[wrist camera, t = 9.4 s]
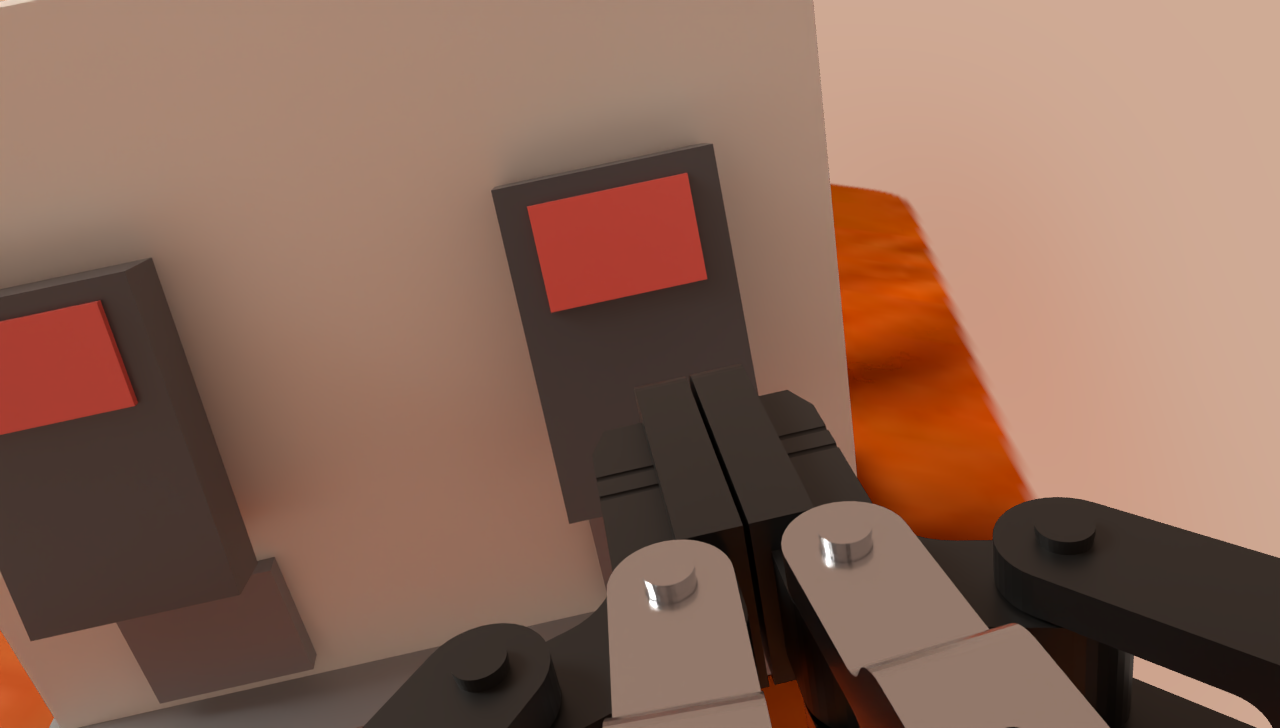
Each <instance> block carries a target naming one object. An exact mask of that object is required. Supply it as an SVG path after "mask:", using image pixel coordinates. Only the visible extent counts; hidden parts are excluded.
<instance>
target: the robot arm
mask: <svg viewBox="0 0 1280 728" xmlns="http://www.w3.org/2000/svg"><path fill="white" fill-rule="evenodd" d="M689 384H690V386H689ZM689 384H688V381H687V379H686V377H685V376H684V377H680V378H675V379H671V380H666V381H662V382H657V383H653V384H648V385H644V386H639V387H635V388H634V393H635V398H636V403H637V408H638V413H639V418H640V423H638V424H634V425H629V426H625V427H620V428H616V429H611V430H607V431H604V432H603V434H602V436H601V438H600V440H599V442H598V444H597V446H596V448H595V450H594V452H593V454H592V457H593V463H594V469H595V474H596V480H597V486H598V492H599V497H600V503H601V509H602V515H603V520H604V526H605V532H606V538H607V543H608V549H609V555H610V561H611V566H612V574H611V576H610V578H609V581H608V584H607V597H606V598H605V600H604V602H603V603H602V604H601V605H600V607H599V608H598V609H597V610H596V611H595V612H594V613H593V614H592V615H591V616H590V617H588V618H587V619H586V620H584V621H583V622H582V623H580V624H579V625H577V626H575V627H574V628H572V629H570V630H568V631H566V632H564V633H562V634H560V635H558V636H556V637H554V638H552V639H550V640H548V641H546V642H545V640H544V639H543V638H542V637H541V636H540V634H538V633H537V632H535V631H534V630H532V629H530V628H528V627H525V626H522V625H518V624H511V623H497V624H489V625H484V626H479V627H476V628H473V629H470V630H468V631H465V632H463V633H461V634H459V635H457V636H455V637H453V638H452V639H450V640H448V641H447V642H446V643H444V644H443V645H441V646H440V647H439V648H438V649H437V650H436V651H435V652H433V653H432V654H431V655H430V656H429V658H428V659H427V660H426V661H425V662H424V663H423V664H422V665H421V666H420V667H419V668H418V669H417V670H416V671H415V672H414V673H413V674H412V676H411V677H410V678H409V679H408V680H407V681H406V682H405V683H404V684H403V685H402V686H401V687H400V688H399V689H398V690H397V691H396V693H395V694H394V695H393V696H392V697H391V698H390V699H389V700H388V701H387V702H386V703H385V704H384V705H383V706H382V707H381V708H380V709H379V711H378V712H377V713H376V714H375V715H374V716H373V717H372V718H371V719H370V720H369V721H368V722H367V723H366V724H365V725H364V726H363V727H362V728H772V726H771V722H770V717H769V713H768V709H767V704H766V700H765V696H764V693H763V691H761V688H765V687H769V681H768V675H767V669H766V663H765V658H766V661H767V664H768V667H769V669H770V672H771V675H772V678H773V681H774V684H775V685H776V684H780V683H784V682H789V681H793V680H797V683H798V685H799V688H800V691H801V693H802V696H803V699H804V706H805V713H806V720H807V726H808V728H1256V727H1253V726H1251V725H1249V724H1246V723H1244V722H1241V721H1238V720H1236V719H1234V718H1231V717H1229V716H1226V715H1224V714H1221V713H1219V712H1216V711H1214V710H1211V709H1209V708H1207V707H1204V706H1202V705H1199V704H1196V703H1194V702H1192V701H1189V700H1187V699H1184V698H1182V697H1179V696H1177V695H1174V694H1172V693H1170V692H1167V691H1164V690H1162V689H1160V688H1157V687H1155V686H1152V685H1150V684H1147V683H1145V682H1142V681H1140V680H1137V679H1135V678H1132V677H1133V659H1134V656H1137V657H1140V658H1142V659H1144V660H1147V661H1150V662H1152V663H1155V664H1157V665H1160V666H1162V667H1165V668H1168V669H1170V670H1173V671H1175V672H1178V673H1180V674H1183V675H1186V676H1188V677H1191V678H1193V679H1196V680H1198V681H1201V682H1203V683H1206V684H1208V685H1211V686H1214V687H1216V688H1219V689H1222V690H1224V691H1226V692H1229V693H1232V694H1234V695H1236V696H1239V697H1241V698H1243V699H1244V700H1246V701H1248V702H1249V703H1251V704H1252V705H1253V706H1255V707H1256V708H1257V709H1258V710H1259V711H1260V712H1262V713H1263V715H1264V716H1265V717H1266V718H1267V719H1268V721H1269V722H1270V724H1271V725H1272V727H1273V728H1280V558H1277V557H1274V556H1271V555H1267V554H1264V553H1260V552H1257V551H1254V550H1251V549H1247V548H1244V547H1241V546H1237V545H1234V544H1230V543H1227V542H1224V541H1220V540H1217V539H1213V538H1211V537H1207V536H1204V535H1200V534H1197V533H1194V532H1191V531H1187V530H1184V529H1180V528H1177V527H1174V526H1171V525H1167V524H1164V523H1161V522H1157V521H1154V520H1151V519H1147V518H1144V517H1140V516H1137V515H1134V514H1130V513H1127V512H1123V511H1120V510H1117V509H1114V508H1110V507H1107V506H1104V505H1100V504H1097V503H1093V502H1089V501H1085V500H1081V499H1074V498H1062V497H1053V498H1042V499H1035V500H1031V501H1027V502H1024V503H1021V504H1019V505H1016V506H1014V507H1013V508H1011V509H1009V510H1008V511H1006V512H1005V513H1004V514H1003V515H1002V516H1001V517H1000V518H999V519H998V521H997V522H996V524H995V527H994V529H993V540H970V541H950V540H936V539H928V538H924V537H920V536H916V535H915V534H914V533H913V531H912V530H911V529H910V527H909V526H908V525H907V524H906V522H905V521H904V520H903V519H902V518H901V517H900V516H898V515H897V514H895V513H894V512H893V511H891V510H889V509H886V508H884V507H881V506H878V505H876V504H873V503H872V502H871V500H870V498H869V497H868V495H867V493H866V492H865V490H864V488H863V487H862V485H861V483H860V482H859V480H858V478H857V477H856V475H855V473H854V472H853V470H852V468H851V467H850V465H849V463H848V462H847V460H846V458H845V457H844V455H843V453H842V452H841V450H840V448H839V447H837V445H836V442H835V440H834V438H833V437H832V435H831V433H830V432H829V430H827V429H826V425H825V423H824V422H823V420H822V418H821V417H820V415H819V413H818V412H817V410H816V408H815V407H814V405H813V404H811V403H810V402H808V401H806V400H804V399H803V398H801V397H799V396H797V395H796V394H794V393H792V392H790V391H789V390H783V391H779V392H775V393H770V394H766V395H761V396H758V395H757V393H756V391H755V389H754V387H753V385H752V383H751V381H750V379H749V377H748V375H747V373H746V371H745V369H744V367H743V365H742V364H737V365H732V366H728V367H723V368H719V369H714V370H710V371H705V372H701V373H697V374H692V375H689ZM764 655H765V657H764Z"/></svg>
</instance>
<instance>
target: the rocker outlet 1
mask: <svg viewBox="0 0 1280 728" xmlns="http://www.w3.org/2000/svg"><path fill="white" fill-rule="evenodd" d="M257 564H258V562H257V559H256V556H255V553H254V550H253V547H252V544H251V542H250V539H249V536H248V533H247V530H246V527H245V524H244V521H243V519H242V516H241V513H240V510H239V507H238V504H237V501H236V498H235V495H234V493H233V490H232V487H231V484H230V481H229V478H228V475H227V472H226V470H225V467H224V464H223V461H222V458H221V455H220V452H219V449H218V447H217V444H216V441H215V438H214V435H213V432H212V429H211V426H210V424H209V421H208V418H207V415H206V412H205V409H204V406H203V403H202V401H201V398H200V395H199V392H198V389H197V386H196V383H195V380H194V378H193V375H192V372H191V369H190V366H189V363H188V360H187V357H186V354H185V352H184V349H183V346H182V343H181V340H180V337H179V334H178V331H177V329H176V326H175V323H174V320H173V317H172V314H171V311H170V308H169V306H168V303H167V300H166V297H165V294H164V291H163V288H162V285H161V283H160V280H159V277H158V274H157V271H156V268H155V265H154V262H153V260H152V257H151V258H146V259H142V260H137V261H132V262H127V263H123V264H118V265H113V266H108V267H104V268H99V269H94V270H89V271H85V272H80V273H75V274H70V275H66V276H61V277H56V278H51V279H47V280H42V281H37V282H32V283H28V284H23V285H18V286H13V287H8V288H4V289H0V572H1V574H2V576H3V579H4V581H5V583H6V586H7V588H8V590H9V593H10V595H11V597H12V599H13V602H14V604H15V606H16V609H17V611H18V613H19V616H20V618H21V620H22V623H23V625H24V627H25V629H26V632H27V634H28V636H29V639H30V641H35V640H39V639H44V638H48V637H53V636H57V635H62V634H66V633H71V632H75V631H80V630H84V629H89V628H93V627H98V626H102V625H107V624H111V623H116V622H120V621H125V620H129V619H134V618H138V617H143V616H147V615H152V614H156V613H161V612H165V611H170V610H174V609H179V608H183V607H188V606H192V605H197V604H201V603H206V602H210V601H215V600H219V599H224V598H228V597H233V596H237V595H240V594H241V593H242V591H243V589H244V587H245V586H246V584H247V582H248V580H249V578H250V577H251V575H252V573H253V571H254V569H255V568H256V566H257Z"/></svg>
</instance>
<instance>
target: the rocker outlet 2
mask: <svg viewBox="0 0 1280 728" xmlns="http://www.w3.org/2000/svg"><path fill="white" fill-rule="evenodd" d="M491 193H492V197H493V202H494V206H495V210H496V214H497V219H498V223H499V227H500V231H501V236H502V240H503V244H504V248H505V253H506V257H507V261H508V265H509V270H510V274H511V278H512V282H513V287H514V291H515V295H516V299H517V304H518V308H519V312H520V316H521V321H522V325H523V329H524V333H525V338H526V342H527V346H528V350H529V355H530V359H531V363H532V367H533V372H534V376H535V380H536V384H537V389H538V393H539V397H540V401H541V406H542V410H543V414H544V418H545V423H546V427H547V431H548V436H549V440H550V444H551V448H552V453H553V457H554V461H555V465H556V470H557V474H558V478H559V482H560V487H561V491H562V495H563V499H564V504H565V508H566V512H567V516H568V521H569V524H572V523H576V522H581V521H585V520H590V519H594V518H599V517H603V515H602V509H601V503H600V497H599V492H598V486H597V480H596V474H595V469H594V463H593V457H592V454H593V452H594V450H595V448H596V446H597V444H598V442H599V440H600V438H601V436H602V434H603V432H604V431H607V430H611V429H616V428H620V427H625V426H629V425H634V424H638V423H640V418H639V413H638V408H637V403H636V398H635V393H634V388H635V387H639V386H644V385H648V384H653V383H657V382H662V381H666V380H671V379H675V378H680V377H684V376H685V377H686V379H687V381H688V384H689V375H692V374H697V373H701V372H705V371H710V370H714V369H719V368H723V367H728V366H732V365H737V364H742V365H743V367H744V369H745V371H746V373H747V375H748V377H749V379H750V381H751V383H752V385H753V387H754V389H755V391H756V393H757V395H758V389H757V384H756V378H755V373H754V367H753V362H752V356H751V351H750V345H749V340H748V334H747V329H746V323H745V318H744V312H743V307H742V301H741V296H740V290H739V285H738V279H737V274H736V268H735V263H734V257H733V252H732V246H731V241H730V235H729V230H728V224H727V219H726V213H725V208H724V202H723V197H722V191H721V186H720V180H719V175H718V169H717V164H716V158H715V153H714V147H713V144H710V143H700V144H695V145H691V146H686V147H681V148H676V149H672V150H667V151H662V152H657V153H652V154H648V155H643V156H638V157H633V158H629V159H624V160H619V161H614V162H610V163H605V164H600V165H595V166H591V167H586V168H581V169H576V170H572V171H567V172H562V173H557V174H553V175H548V176H543V177H538V178H534V179H529V180H524V181H519V182H515V183H510V184H505V185H500V186H496V187H494V188H493V189H492V190H491ZM689 386H690V384H689ZM758 396H759V395H758Z"/></svg>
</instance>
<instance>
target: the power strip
mask: <svg viewBox="0 0 1280 728" xmlns="http://www.w3.org/2000/svg"><path fill="white" fill-rule="evenodd" d="M700 143H710V144H713V147H714V153H715V158H716V164H717V169H718V175H719V180H720V186H721V191H722V197H723V202H724V208H725V213H726V219H727V224H728V230H729V235H730V241H731V246H732V252H733V257H734V263H735V268H736V274H737V279H738V285H739V290H740V296H741V301H742V307H743V312H744V318H745V323H746V329H747V334H748V340H749V345H750V351H751V356H752V362H753V367H754V373H755V378H756V384H757V389H758V395H759V396H761V395H766V394H770V393H775V392H779V391H783V390H789V391H790V392H792V393H794V394H796V395H797V396H799V397H801V398H803V399H804V400H806V401H808V402H810V403H811V404H813V405H814V407H815V408H816V410H817V412H818V413H819V415H820V417H821V418H822V420H823V422H824V423H825V425H826V429H827V430H829V432H830V433H831V435H832V437H833V438H834V440H835V442H836V445H837V447H839V448H840V450H841V452H842V453H843V455H844V457H845V458H846V460H847V462H848V463H849V465H850V467H851V468H852V470H853V472H854V473H855V475H856V477H857V470H856V459H855V448H854V437H853V427H852V416H851V405H850V394H849V383H848V372H847V362H846V351H845V340H844V329H843V318H842V307H841V297H840V286H839V275H838V264H837V253H836V243H835V232H834V221H833V210H832V199H831V188H830V178H829V167H828V156H827V145H826V134H825V123H824V113H823V103H822V91H821V80H820V69H819V59H818V48H817V37H816V26H815V16H814V5H813V0H6V1H2V2H0V289H4V288H8V287H13V286H18V285H23V284H28V283H32V282H37V281H42V280H47V279H51V278H56V277H61V276H66V275H70V274H75V273H80V272H85V271H89V270H94V269H99V268H104V267H108V266H113V265H118V264H123V263H127V262H132V261H137V260H142V259H146V258H151V257H152V260H153V262H154V265H155V268H156V271H157V274H158V277H159V280H160V283H161V285H162V288H163V291H164V294H165V297H166V300H167V303H168V306H169V308H170V311H171V314H172V317H173V320H174V323H175V326H176V329H177V331H178V334H179V337H180V340H181V343H182V346H183V349H184V352H185V354H186V357H187V360H188V363H189V366H190V369H191V372H192V375H193V378H194V380H195V383H196V386H197V389H198V392H199V395H200V398H201V401H202V403H203V406H204V409H205V412H206V415H207V418H208V421H209V424H210V426H211V429H212V432H213V435H214V438H215V441H216V444H217V447H218V449H219V452H220V455H221V458H222V461H223V464H224V467H225V470H226V472H227V475H228V478H229V481H230V484H231V487H232V490H233V493H234V495H235V498H236V501H237V504H238V507H239V510H240V513H241V516H242V519H243V521H244V524H245V527H246V530H247V533H248V536H249V539H250V542H251V544H252V547H253V550H254V553H255V556H256V559H257V562H258V564H257V566H256V568H255V569H254V571H253V573H252V575H251V577H250V578H249V580H248V582H247V584H246V586H245V587H244V589H243V591H242V593H241V594H240V595H237V596H233V597H228V598H224V599H219V600H215V601H210V602H206V603H201V604H197V605H192V606H188V607H183V608H179V609H174V610H170V611H165V612H161V613H156V614H152V615H147V616H143V617H138V618H134V619H129V620H125V621H120V622H116V623H111V624H107V625H102V626H98V627H93V628H89V629H84V630H80V631H75V632H71V633H66V634H62V635H57V636H53V637H48V638H44V639H39V640H35V641H30V639H29V636H28V634H27V632H26V629H25V627H24V625H23V623H22V620H21V618H20V616H19V613H18V611H17V609H16V606H15V604H14V602H13V599H12V597H11V595H10V593H9V590H8V588H7V586H6V583H5V581H4V579H3V576H2V574H1V572H0V630H1V632H2V633H3V635H4V637H5V638H6V640H7V641H8V643H9V645H10V646H11V648H12V650H13V651H14V653H15V654H16V656H17V658H18V659H19V661H20V663H21V664H22V666H23V667H24V669H25V671H26V672H27V674H28V676H29V677H30V679H31V680H32V682H33V684H34V685H35V687H36V689H37V690H38V692H39V694H40V695H41V697H42V698H43V700H44V702H45V703H46V705H47V707H48V708H49V710H50V711H51V713H52V715H53V716H54V719H53V721H52V723H51V725H50V727H49V728H362V727H363V726H364V725H365V724H366V723H367V722H368V721H369V720H370V719H371V718H372V717H373V716H374V715H375V714H376V713H377V712H378V711H379V709H380V708H381V707H382V706H383V705H384V704H385V703H386V702H387V701H388V700H389V699H390V698H391V697H392V696H393V695H394V694H395V693H396V691H397V690H398V689H399V688H400V687H401V686H402V685H403V684H404V683H405V682H406V681H407V680H408V679H409V678H410V677H411V676H412V674H413V673H414V672H415V671H416V670H417V669H418V668H419V667H420V666H421V665H422V664H423V663H424V662H425V661H426V660H427V659H428V658H429V656H430V655H431V654H432V653H433V652H435V651H436V650H437V649H438V648H439V647H440V646H441V645H443V644H444V643H446V642H447V641H448V640H450V639H452V638H453V637H455V636H457V635H459V634H461V633H463V632H465V631H468V630H470V629H473V628H476V627H479V626H484V625H489V624H497V623H511V624H518V625H522V626H525V627H528V628H530V629H532V630H534V631H535V632H537V633H538V634H540V636H541V637H542V638H543V639H544V640H545V642H546V641H548V640H550V639H552V638H554V637H556V636H558V635H560V634H562V633H564V632H566V631H568V630H570V629H572V628H574V627H575V626H577V625H579V624H580V623H582V622H583V621H584V620H586V619H587V618H588V617H590V616H591V615H592V614H593V613H594V612H595V611H596V610H597V609H598V608H599V607H600V605H601V604H602V603H603V602H604V600H605V598H606V597H607V584H608V581H609V578H610V576H611V574H612V566H611V561H610V555H609V549H608V543H607V538H606V532H605V526H604V520H603V517H599V518H594V519H590V520H585V521H581V522H576V523H572V524H569V521H568V516H567V512H566V508H565V504H564V499H563V495H562V491H561V487H560V482H559V478H558V474H557V470H556V465H555V461H554V457H553V453H552V448H551V444H550V440H549V436H548V431H547V427H546V423H545V418H544V414H543V410H542V406H541V401H540V397H539V393H538V389H537V384H536V380H535V376H534V372H533V367H532V363H531V359H530V355H529V350H528V346H527V342H526V338H525V333H524V329H523V325H522V321H521V316H520V312H519V308H518V304H517V299H516V295H515V291H514V287H513V282H512V278H511V274H510V270H509V265H508V261H507V257H506V253H505V248H504V244H503V240H502V236H501V231H500V227H499V223H498V219H497V214H496V210H495V206H494V202H493V197H492V193H491V190H492V189H493V188H494V187H496V186H500V185H505V184H510V183H515V182H519V181H524V180H529V179H534V178H538V177H543V176H548V175H553V174H557V173H562V172H567V171H572V170H576V169H581V168H586V167H591V166H595V165H600V164H605V163H610V162H614V161H619V160H624V159H629V158H633V157H638V156H643V155H648V154H652V153H657V152H662V151H667V150H672V149H676V148H681V147H686V146H691V145H695V144H700ZM764 657H765V655H764ZM765 663H766V669H767V675H770V674H771V672H770V669H769V667H768V664H767V661H766V658H765Z"/></svg>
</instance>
